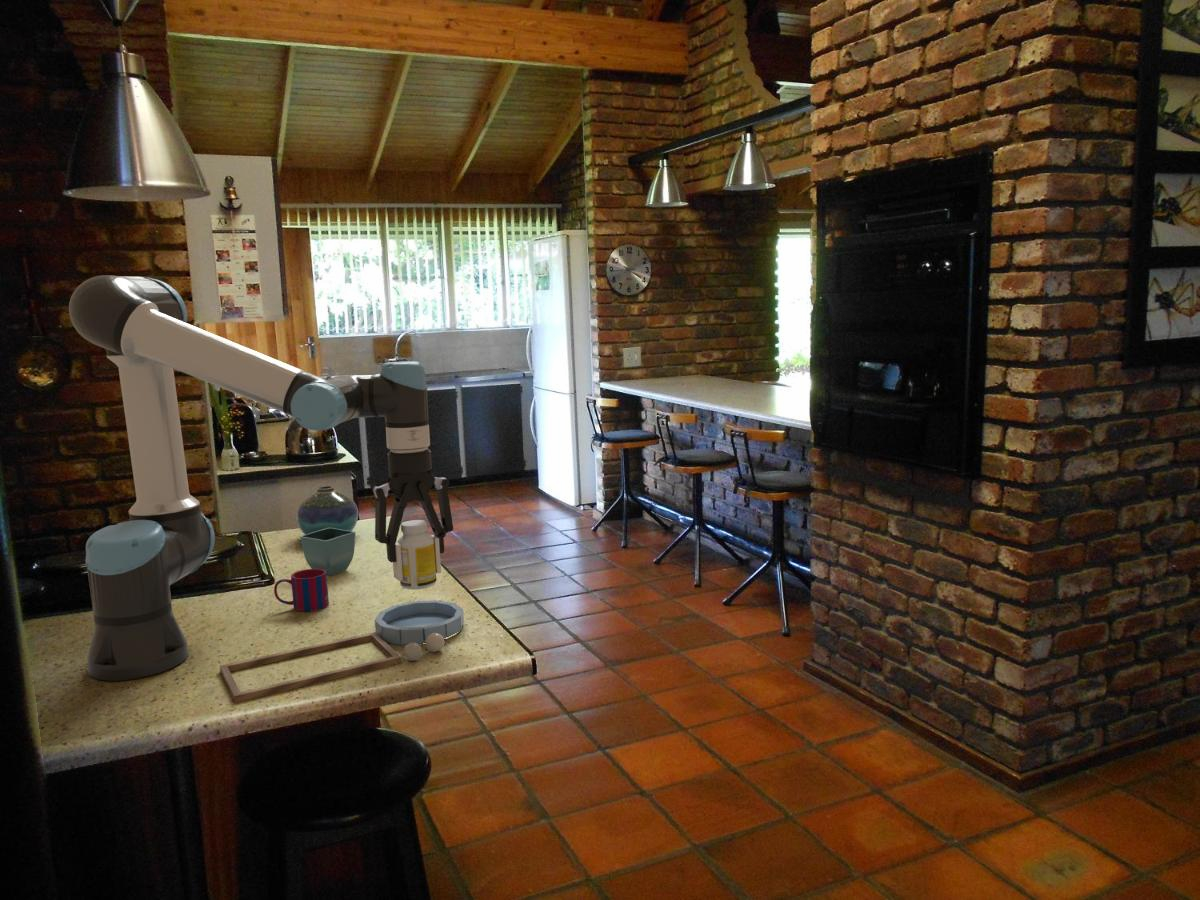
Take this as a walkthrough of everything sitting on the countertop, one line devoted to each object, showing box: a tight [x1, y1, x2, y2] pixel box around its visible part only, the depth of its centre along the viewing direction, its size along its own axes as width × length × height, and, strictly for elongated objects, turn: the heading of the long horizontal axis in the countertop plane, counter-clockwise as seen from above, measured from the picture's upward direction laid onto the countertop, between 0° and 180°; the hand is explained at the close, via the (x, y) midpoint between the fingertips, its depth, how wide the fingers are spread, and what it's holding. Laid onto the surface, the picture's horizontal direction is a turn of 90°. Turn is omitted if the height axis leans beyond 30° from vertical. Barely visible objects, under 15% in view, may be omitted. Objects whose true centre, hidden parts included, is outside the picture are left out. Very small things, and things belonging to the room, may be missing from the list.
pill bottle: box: [396, 519, 437, 590], centre depth 159 cm, size 6×6×12 cm
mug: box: [273, 568, 330, 613], centre depth 176 cm, size 7×10×7 cm
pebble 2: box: [425, 633, 446, 653], centre depth 151 cm, size 3×3×3 cm
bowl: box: [374, 599, 465, 646], centre depth 162 cm, size 15×15×3 cm
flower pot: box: [299, 528, 356, 577], centre depth 199 cm, size 9×9×9 cm
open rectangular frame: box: [219, 631, 403, 703], centre depth 146 cm, size 26×14×1 cm, turn 121°
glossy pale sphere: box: [403, 642, 423, 662], centre depth 148 cm, size 3×3×3 cm
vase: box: [296, 485, 359, 535], centre depth 230 cm, size 15×15×13 cm
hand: (417, 574), depth 160 cm, fingers closed on pill bottle, 6 cm apart
